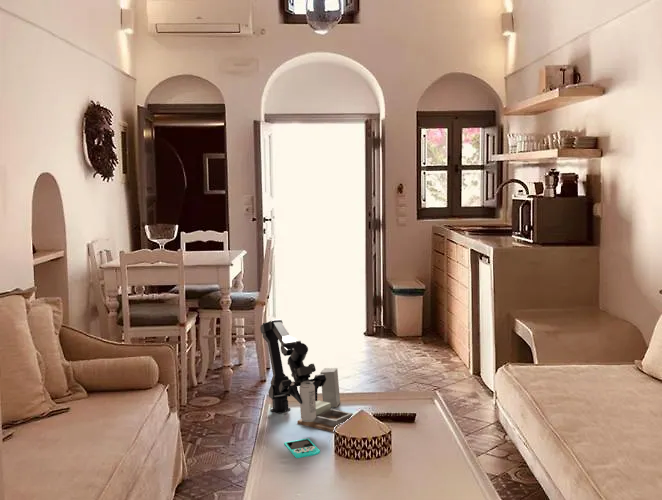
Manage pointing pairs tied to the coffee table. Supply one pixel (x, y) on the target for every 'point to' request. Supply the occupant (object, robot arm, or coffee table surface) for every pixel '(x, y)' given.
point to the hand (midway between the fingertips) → (309, 402)
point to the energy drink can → (307, 401)
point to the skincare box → (331, 386)
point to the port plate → (326, 417)
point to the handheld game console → (302, 448)
